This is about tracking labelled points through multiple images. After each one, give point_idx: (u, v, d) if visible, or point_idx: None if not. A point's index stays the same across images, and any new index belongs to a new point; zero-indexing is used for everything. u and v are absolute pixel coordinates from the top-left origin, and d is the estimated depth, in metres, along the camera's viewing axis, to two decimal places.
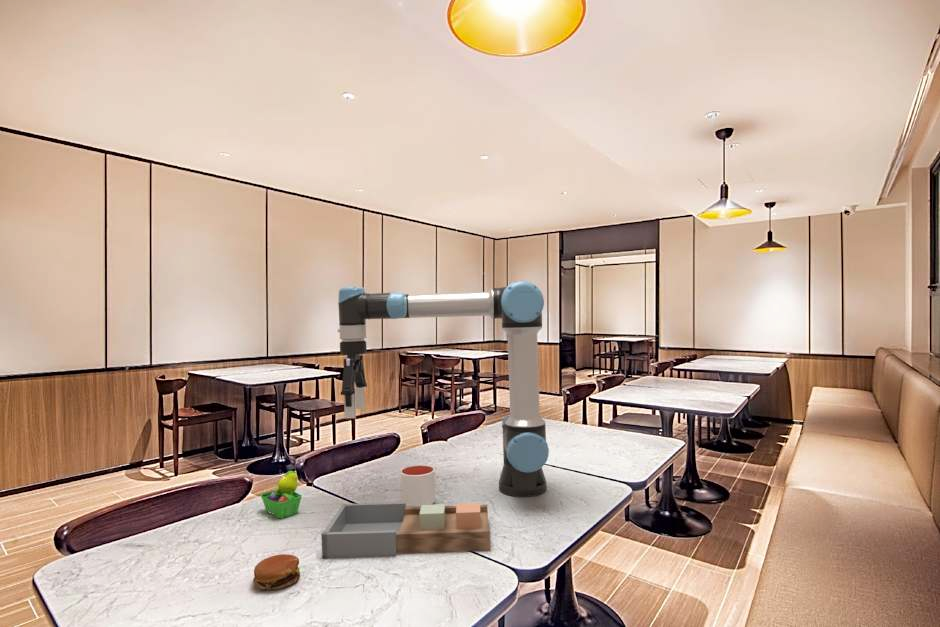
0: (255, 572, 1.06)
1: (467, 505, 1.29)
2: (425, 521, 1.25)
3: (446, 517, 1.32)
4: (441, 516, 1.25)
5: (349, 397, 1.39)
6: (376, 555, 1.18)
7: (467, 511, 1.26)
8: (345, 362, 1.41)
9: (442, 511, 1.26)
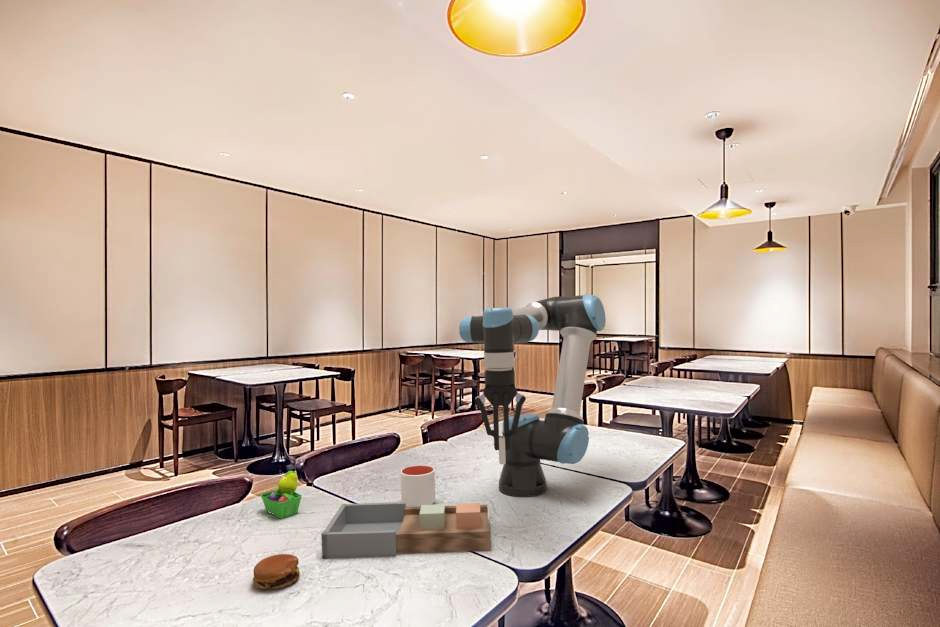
0: (255, 572, 1.06)
1: (467, 505, 1.29)
2: (425, 521, 1.25)
3: (446, 517, 1.32)
4: (441, 516, 1.25)
5: (494, 439, 1.28)
6: (376, 555, 1.18)
7: (467, 511, 1.26)
8: None
9: (442, 511, 1.26)
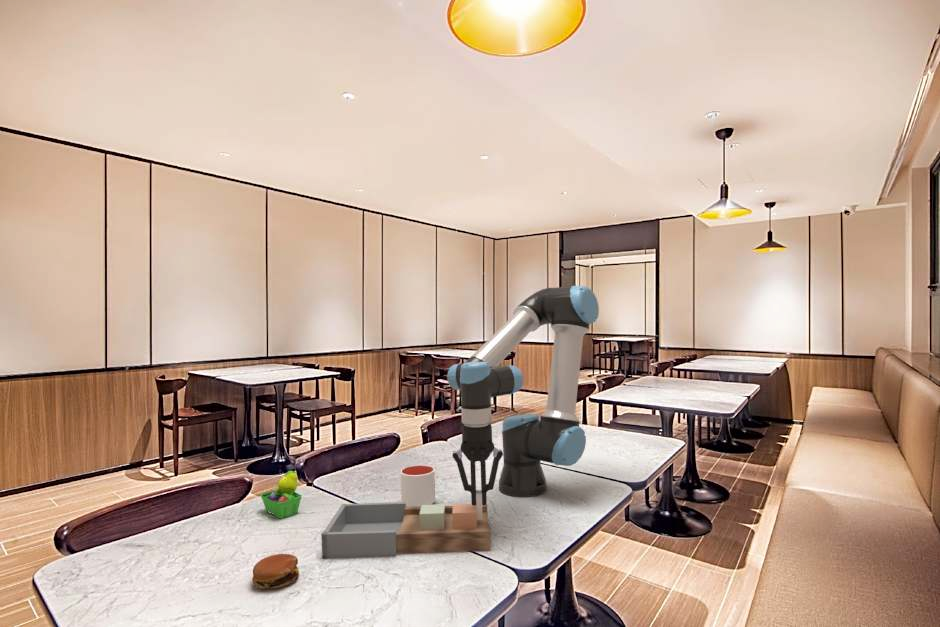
0: (254, 571, 1.06)
1: (464, 506, 1.29)
2: (425, 521, 1.25)
3: (446, 517, 1.32)
4: (441, 516, 1.25)
5: (471, 495, 1.27)
6: (376, 555, 1.18)
7: (463, 511, 1.26)
8: None
9: (442, 511, 1.26)
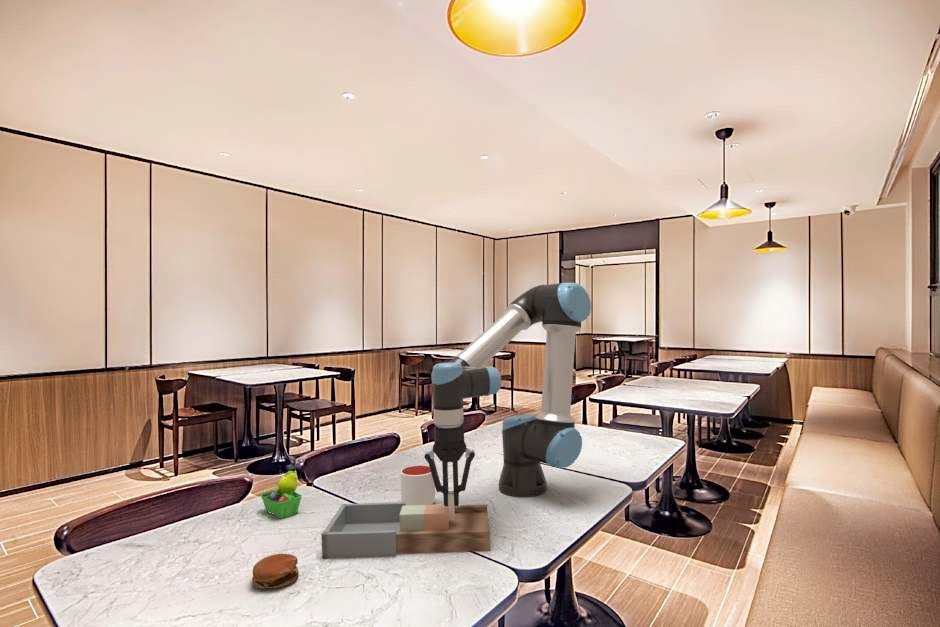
0: (254, 571, 1.06)
1: (436, 507, 1.29)
2: (405, 522, 1.25)
3: None
4: (421, 517, 1.25)
5: None
6: (376, 555, 1.18)
7: (435, 512, 1.25)
8: None
9: (422, 512, 1.26)
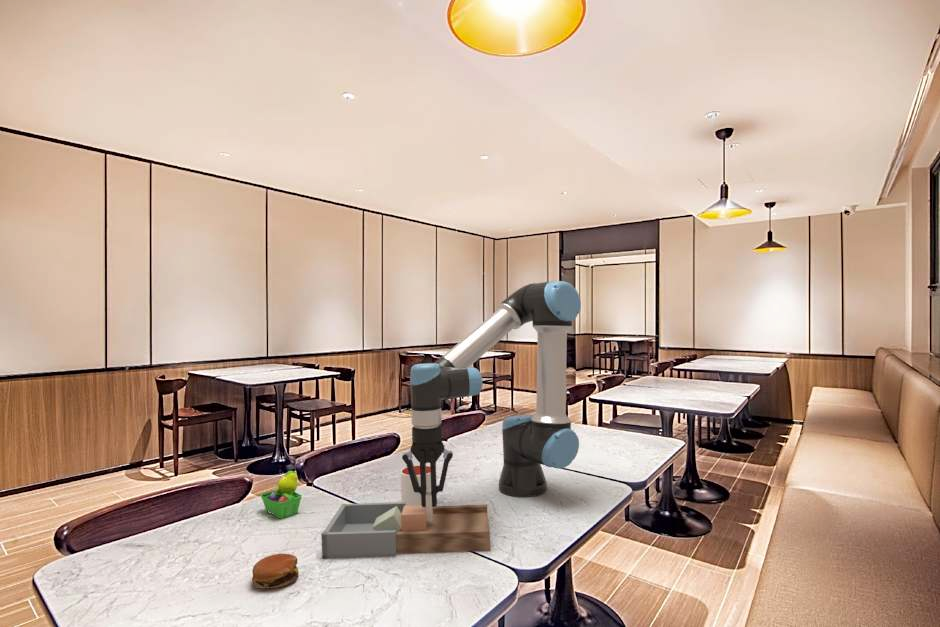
0: (253, 571, 1.06)
1: (414, 507, 1.29)
2: None
3: (446, 517, 1.32)
4: (392, 518, 1.25)
5: (421, 496, 1.27)
6: (376, 555, 1.18)
7: (412, 513, 1.25)
8: None
9: (392, 513, 1.26)
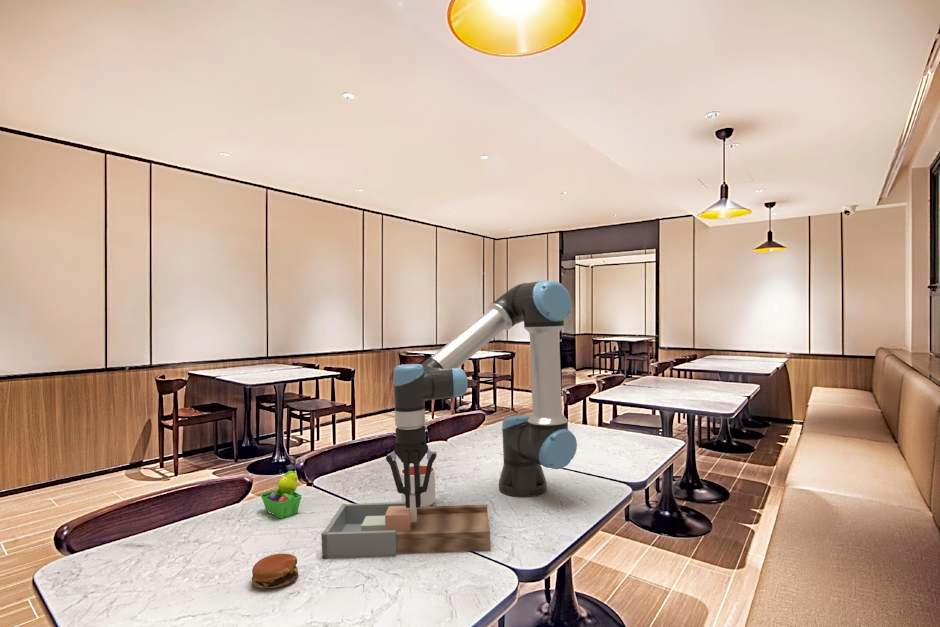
0: (253, 571, 1.06)
1: (399, 508, 1.29)
2: None
3: (446, 517, 1.32)
4: (383, 528, 1.25)
5: None
6: (376, 555, 1.18)
7: (396, 514, 1.25)
8: None
9: (384, 523, 1.26)
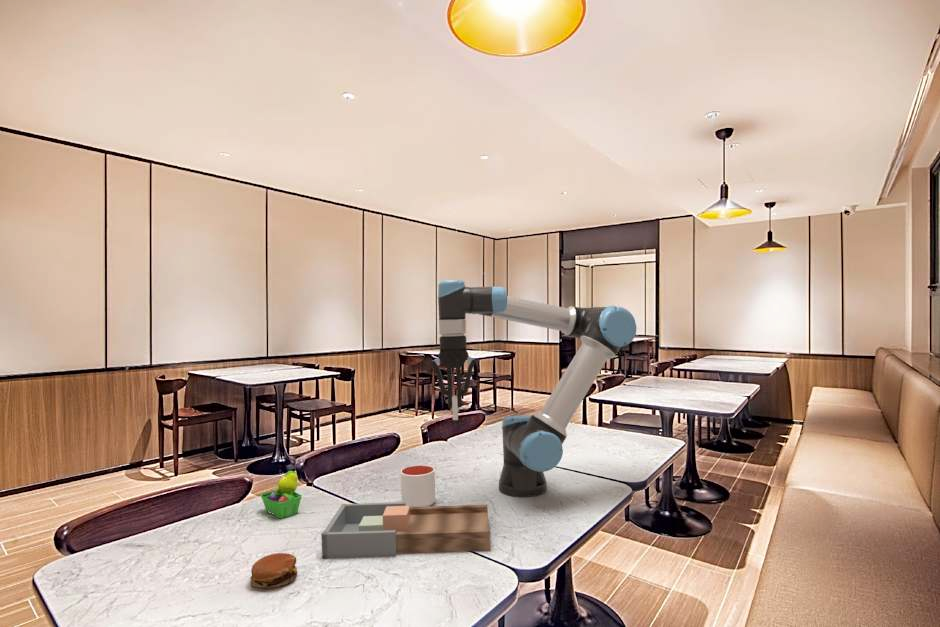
0: (252, 571, 1.06)
1: (396, 508, 1.29)
2: None
3: (446, 517, 1.32)
4: (380, 528, 1.25)
5: (448, 398, 1.43)
6: (376, 555, 1.18)
7: (394, 514, 1.25)
8: None
9: (382, 523, 1.26)
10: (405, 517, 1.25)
